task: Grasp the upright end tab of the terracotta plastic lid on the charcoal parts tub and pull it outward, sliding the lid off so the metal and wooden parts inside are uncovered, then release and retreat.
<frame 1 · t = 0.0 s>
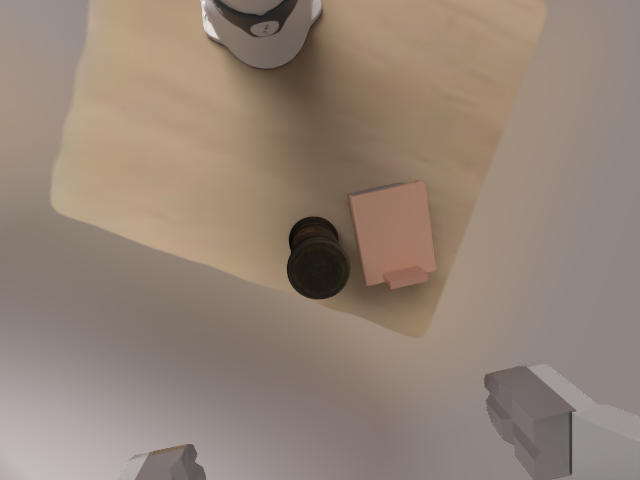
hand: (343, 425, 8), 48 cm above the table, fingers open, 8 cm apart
lid: (396, 236, 47), point 10 cm above the table, slide at 0.0 cm
container: (312, 238, 56), on the table
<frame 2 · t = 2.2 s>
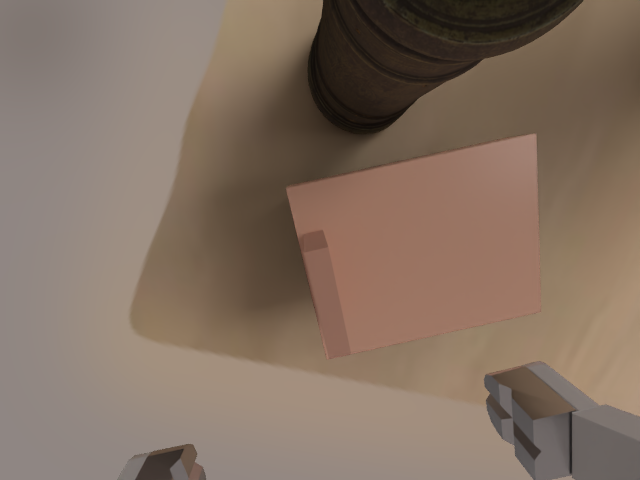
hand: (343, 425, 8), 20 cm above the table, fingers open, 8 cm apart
lid: (428, 258, 18), point 10 cm above the table, slide at 0.0 cm
container: (360, 76, 25), on the table
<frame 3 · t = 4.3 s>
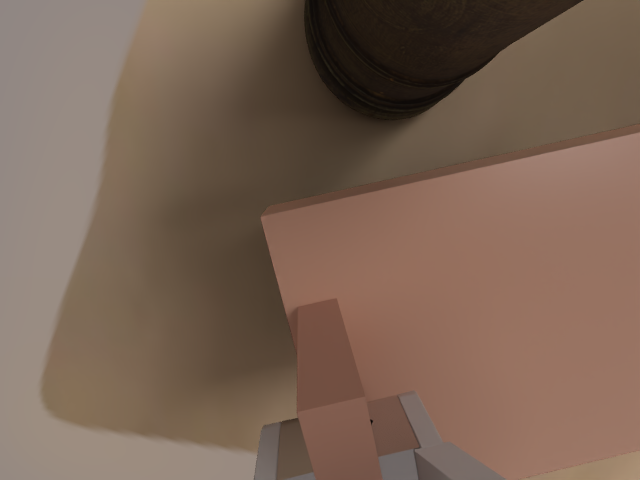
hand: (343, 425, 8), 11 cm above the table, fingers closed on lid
lid: (547, 354, 9), point 10 cm above the table, slide at 0.0 cm, touching gripper
container: (387, 30, 16), on the table
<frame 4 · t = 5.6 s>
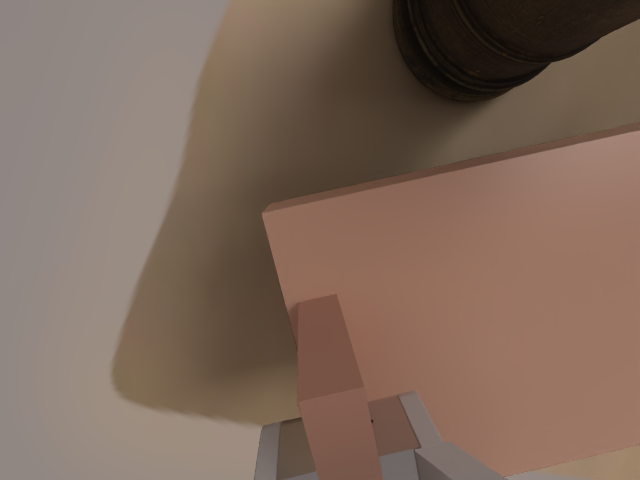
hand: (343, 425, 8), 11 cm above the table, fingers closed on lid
lid: (543, 349, 9), point 10 cm above the table, slide at 4.5 cm, touching gripper
container: (468, 13, 16), on the table
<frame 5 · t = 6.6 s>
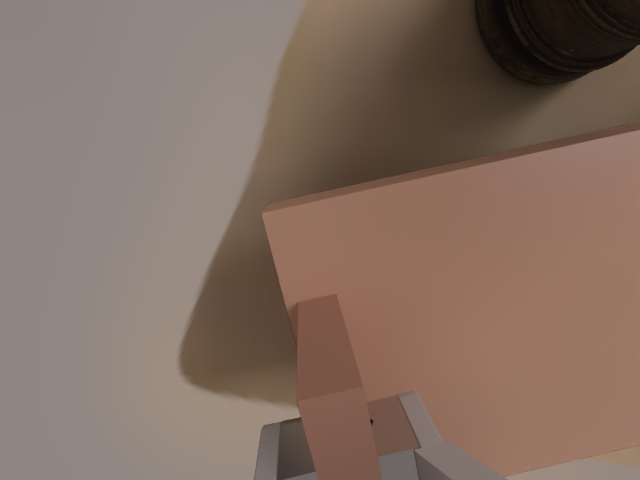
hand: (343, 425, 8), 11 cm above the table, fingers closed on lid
lid: (544, 349, 9), point 10 cm above the table, slide at 9.0 cm, touching gripper
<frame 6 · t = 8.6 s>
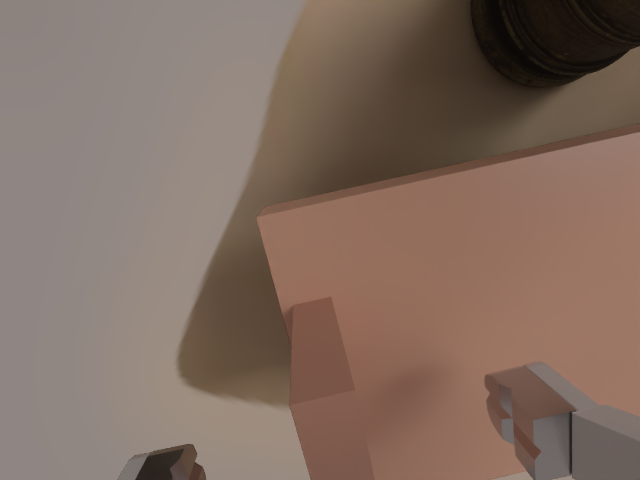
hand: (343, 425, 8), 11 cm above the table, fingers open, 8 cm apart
lid: (536, 351, 9), point 10 cm above the table, slide at 9.1 cm
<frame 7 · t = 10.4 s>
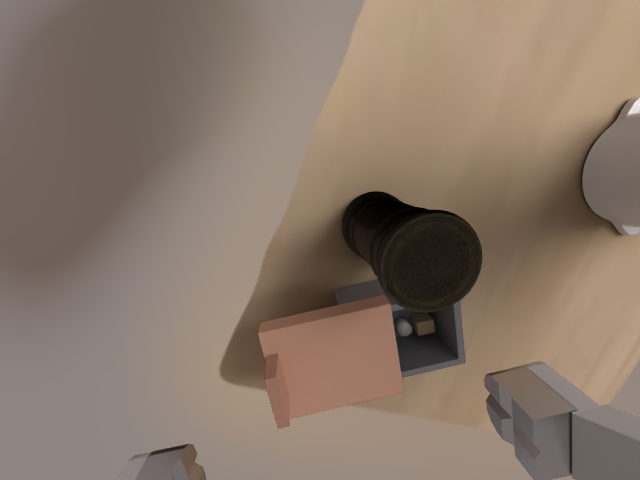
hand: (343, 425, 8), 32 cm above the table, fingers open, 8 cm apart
tub: (386, 310, 43), on the table
lid: (335, 368, 33), point 10 cm above the table, slide at 9.1 cm
container: (373, 224, 41), on the table
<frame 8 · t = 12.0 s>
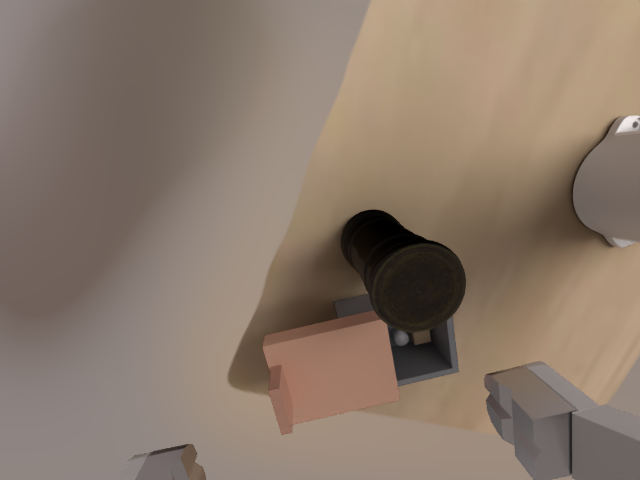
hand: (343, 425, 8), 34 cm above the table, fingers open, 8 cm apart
tub: (384, 320, 46), on the table
lid: (334, 378, 36), point 10 cm above the table, slide at 9.1 cm
container: (370, 240, 43), on the table
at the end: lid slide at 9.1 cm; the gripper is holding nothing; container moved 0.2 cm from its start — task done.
